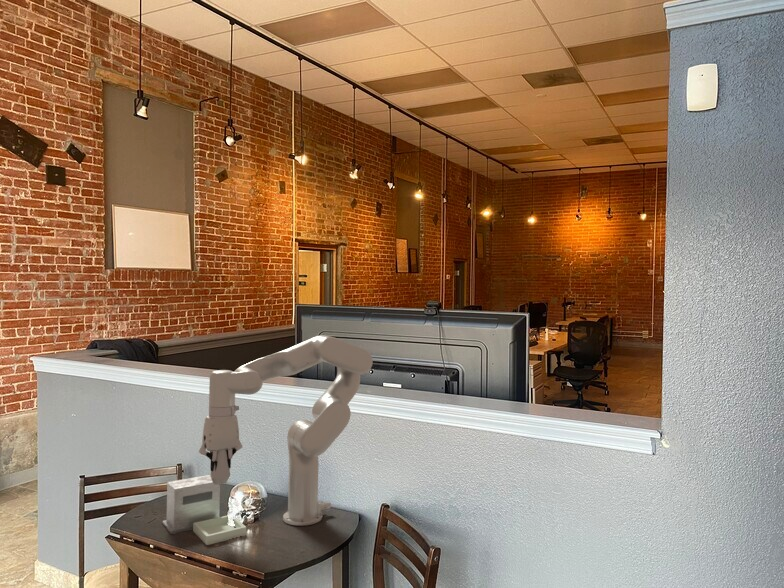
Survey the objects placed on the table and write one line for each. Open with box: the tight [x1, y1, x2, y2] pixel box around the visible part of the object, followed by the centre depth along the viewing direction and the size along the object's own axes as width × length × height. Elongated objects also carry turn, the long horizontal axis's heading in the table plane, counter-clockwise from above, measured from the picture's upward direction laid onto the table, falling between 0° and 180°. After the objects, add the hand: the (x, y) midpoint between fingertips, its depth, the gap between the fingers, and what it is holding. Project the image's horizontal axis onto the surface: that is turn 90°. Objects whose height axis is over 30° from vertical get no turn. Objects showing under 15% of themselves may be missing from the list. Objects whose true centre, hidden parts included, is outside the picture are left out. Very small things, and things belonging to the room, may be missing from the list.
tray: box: [192, 514, 247, 546], centre depth 170 cm, size 12×12×2 cm
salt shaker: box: [209, 449, 231, 486], centre depth 170 cm, size 6×6×13 cm
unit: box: [161, 474, 221, 535], centre depth 178 cm, size 16×10×13 cm, turn 127°
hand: (220, 471), depth 170 cm, fingers closed on salt shaker, 3 cm apart
